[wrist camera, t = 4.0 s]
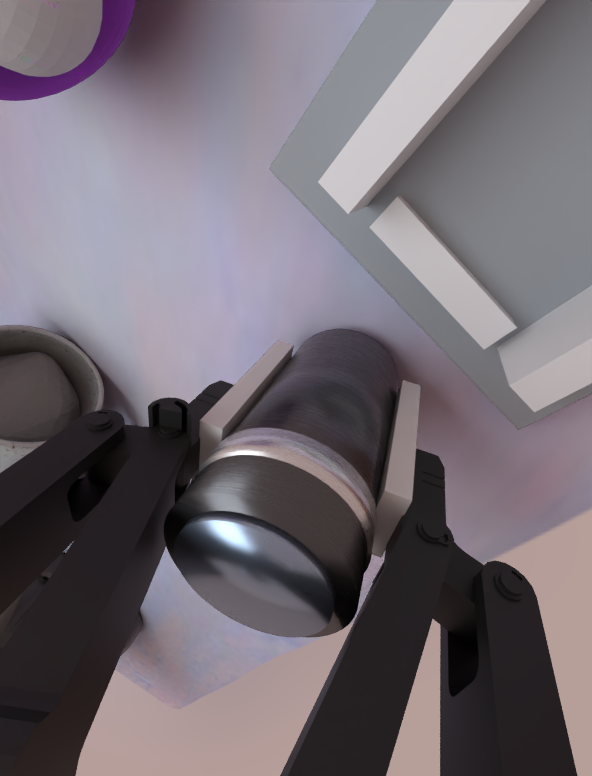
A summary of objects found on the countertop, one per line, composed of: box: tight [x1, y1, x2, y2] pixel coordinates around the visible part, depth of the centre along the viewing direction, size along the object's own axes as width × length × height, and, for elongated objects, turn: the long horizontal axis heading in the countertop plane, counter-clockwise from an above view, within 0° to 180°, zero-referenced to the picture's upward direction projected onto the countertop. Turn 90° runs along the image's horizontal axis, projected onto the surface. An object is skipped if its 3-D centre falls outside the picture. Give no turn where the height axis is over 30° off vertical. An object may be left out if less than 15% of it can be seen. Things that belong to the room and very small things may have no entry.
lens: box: [164, 329, 398, 637], centre depth 13 cm, size 5×5×10 cm
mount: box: [269, 0, 592, 430], centre depth 10 cm, size 12×14×4 cm
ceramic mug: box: [0, 325, 104, 473], centre depth 22 cm, size 11×8×8 cm
